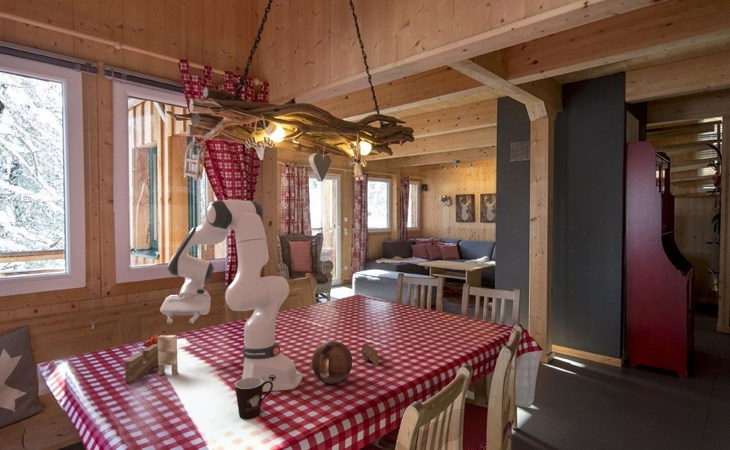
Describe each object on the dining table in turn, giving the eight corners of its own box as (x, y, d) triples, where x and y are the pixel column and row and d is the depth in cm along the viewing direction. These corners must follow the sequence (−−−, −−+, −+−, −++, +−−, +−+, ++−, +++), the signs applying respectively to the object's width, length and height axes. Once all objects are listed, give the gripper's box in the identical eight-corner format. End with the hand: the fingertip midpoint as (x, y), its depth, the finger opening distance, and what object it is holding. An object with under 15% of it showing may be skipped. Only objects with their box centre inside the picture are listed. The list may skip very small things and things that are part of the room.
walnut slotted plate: (159, 362, 172) (159, 344, 172) (131, 382, 152) (131, 361, 152) (154, 362, 172) (153, 344, 172) (125, 382, 152) (124, 361, 152)
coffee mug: (234, 423, 122) (234, 390, 121) (236, 409, 130) (235, 379, 130) (274, 417, 125) (273, 385, 124) (273, 404, 133) (272, 374, 133)
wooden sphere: (332, 370, 161) (331, 333, 161) (360, 380, 152) (360, 340, 151) (303, 383, 150) (303, 343, 149) (333, 394, 140) (332, 351, 140)
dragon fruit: (173, 352, 190) (145, 360, 185) (170, 338, 196) (142, 346, 190) (171, 341, 185) (142, 349, 180) (168, 327, 191) (140, 334, 185)
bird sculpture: (371, 374, 158) (371, 361, 157) (355, 353, 182) (355, 342, 181) (387, 372, 159) (387, 359, 159) (369, 351, 183) (369, 340, 183)
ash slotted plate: (177, 372, 161) (176, 335, 161) (174, 375, 159) (173, 337, 159) (161, 372, 161) (160, 335, 161) (158, 375, 159) (157, 337, 159)
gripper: (164, 291, 178) (152, 319, 168) (210, 290, 177) (201, 318, 168) (169, 299, 182) (158, 326, 173) (214, 298, 182) (206, 326, 172)
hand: (180, 322), depth 170 cm, fingers open, 8 cm apart
